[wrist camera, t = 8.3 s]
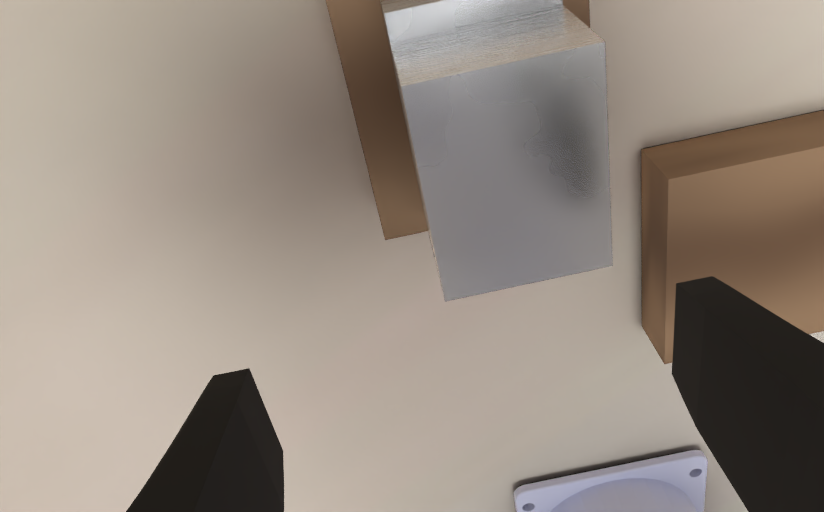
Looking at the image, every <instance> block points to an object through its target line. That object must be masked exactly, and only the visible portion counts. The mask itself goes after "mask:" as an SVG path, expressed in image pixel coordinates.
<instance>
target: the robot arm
mask: <svg viewBox="0 0 824 512" xmlns="http://www.w3.org/2000/svg"><path fill="white" fill-rule="evenodd" d="M672 375H673V377H674V380H675V382H676V384H677V386H678V389H679V391H680V393H681V395H682V398H683V400H684V402H685V404H686V407H687V409H688V411H689V413H690V415H691V417H692V419H693V421H694V423H695V426H696V427H697V429H698V431H699V432H700V434H701V436H702V437H703V439H704V441H705V442H706V444H707V446H708V447H709V449H710V450H711V452H712V454H713V455H714V457H715V459H716V460H717V462H718V463H719V465H720V467H721V468H722V470H723V472H724V473H725V475H726V476H727V478H728V479H729V481H730V483H731V484H732V486H733V487H734V489H735V491H736V492H737V494H738V495H739V497H740V499H741V500H742V502H743V503H744V505H745V507H746V508H747V510H748V511H749V512H824V343H823V342H821V341H819V340H817V339H816V338H814V337H812V336H811V335H809V334H807V333H805V332H804V331H802V330H800V329H799V328H797V327H795V326H794V325H792V324H790V323H789V322H787V321H785V320H784V319H782V318H781V317H779V316H777V315H776V314H774V313H772V312H771V311H769V310H768V309H766V308H764V307H763V306H761V305H759V304H758V303H756V302H755V301H753V300H751V299H750V298H748V297H747V296H745V295H743V294H742V293H740V292H738V291H737V290H735V289H734V288H732V287H730V286H729V285H727V284H725V283H724V282H722V281H720V280H719V279H717V278H715V277H713V276H710V277H705V278H700V279H695V280H690V281H685V282H680V283H676V297H675V318H674V340H673V362H672ZM707 465H708V460H707V458H706V456H705V454H704V453H703V452H702V451H700V450H690V451H685V452H681V453H676V454H671V455H666V456H661V457H656V458H652V459H647V460H642V461H637V462H632V463H627V464H622V465H618V466H613V467H608V468H603V469H598V470H593V471H588V472H584V473H579V474H574V475H569V476H564V477H559V478H555V479H550V480H545V481H540V482H535V483H530V484H525V485H522V486H520V487H518V488H517V489H516V490H515V491H514V501H515V507H516V512H704V504H705V491H706V478H707ZM126 512H284V470H283V450H282V447H281V445H280V442H279V440H278V438H277V435H276V433H275V430H274V428H273V425H272V423H271V420H270V418H269V416H268V413H267V411H266V408H265V406H264V403H263V401H262V398H261V396H260V394H259V391H258V389H257V386H256V384H255V381H254V379H253V377H252V374H251V372H250V369H244V370H239V371H234V372H229V373H224V374H219V375H214V376H213V377H212V379H211V380H210V381H209V383H208V385H207V386H206V388H205V389H204V391H203V393H202V394H201V396H200V398H199V399H198V401H197V403H196V404H195V406H194V408H193V409H192V411H191V413H190V414H189V416H188V418H187V419H186V421H185V422H184V424H183V426H182V427H181V429H180V431H179V432H178V434H177V436H176V437H175V439H174V440H173V442H172V444H171V445H170V447H169V448H168V450H167V451H166V453H165V455H164V456H163V458H162V459H161V461H160V462H159V464H158V465H157V467H156V469H155V470H154V472H153V473H152V475H151V476H150V478H149V479H148V481H147V482H146V484H145V485H144V487H143V488H142V490H141V491H140V493H139V494H138V496H137V497H136V499H135V500H134V501H133V503H132V504H131V506H130V507H129V508H128V510H127V511H126Z"/></svg>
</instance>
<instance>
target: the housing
mask: <svg viewBox="0 0 824 512" xmlns="http://www.w3.org/2000/svg"><path fill="white" fill-rule="evenodd" d="M380 3H381V8H382V13H383V18H384V23H385V27H386V32H387V37H388V42H389V47H390V52H391V56H392V61H393V66H394V71H395V76H396V80H397V85H398V90H399V95H400V100H401V104H402V109H403V114H404V119H405V124H406V129H407V133H408V138H409V143H410V148H411V153H412V157H413V162H414V167H415V172H416V177H417V181H418V186H419V191H420V196H421V201H422V205H423V210H424V215H425V219H426V224H427V228H428V232H429V236H430V241H431V245H432V249H433V254H434V257H435V260H436V264H437V269H438V273H439V277H440V281H441V286H442V290H443V294H444V299H445V301H450V300H455V299H459V298H464V297H469V296H473V295H478V294H483V293H487V292H492V291H497V290H501V289H506V288H511V287H516V286H520V285H525V284H530V283H534V282H539V281H544V280H548V279H553V278H558V277H562V276H567V275H572V274H577V273H581V272H586V271H591V270H595V269H600V268H605V267H609V266H613V261H612V231H611V202H610V172H609V142H608V112H607V82H606V53H605V41H604V40H603V39H601V38H600V37H599V36H598V35H597V34H596V33H595V32H593V31H592V30H591V29H590V28H589V27H588V26H587V25H585V24H584V23H583V22H582V21H581V20H580V19H579V18H577V17H576V16H575V15H574V14H573V13H572V12H571V11H569V10H568V9H567V8H566V7H565V6H564V5H563V0H380Z"/></svg>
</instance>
